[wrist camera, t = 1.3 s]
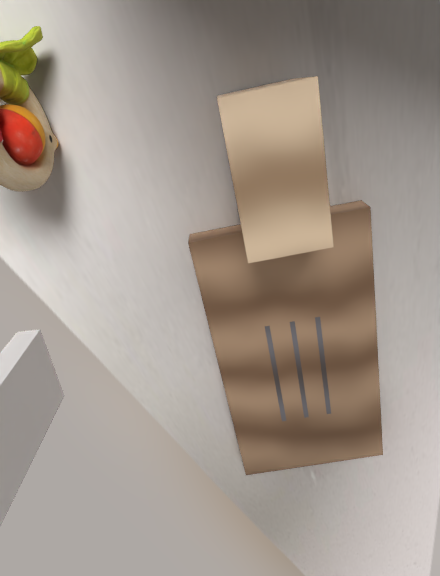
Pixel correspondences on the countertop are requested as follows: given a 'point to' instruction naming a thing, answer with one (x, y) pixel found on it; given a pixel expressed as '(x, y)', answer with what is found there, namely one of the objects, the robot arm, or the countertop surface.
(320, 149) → the block
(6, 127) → the bird rattle
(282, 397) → the walnut board
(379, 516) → the countertop surface
